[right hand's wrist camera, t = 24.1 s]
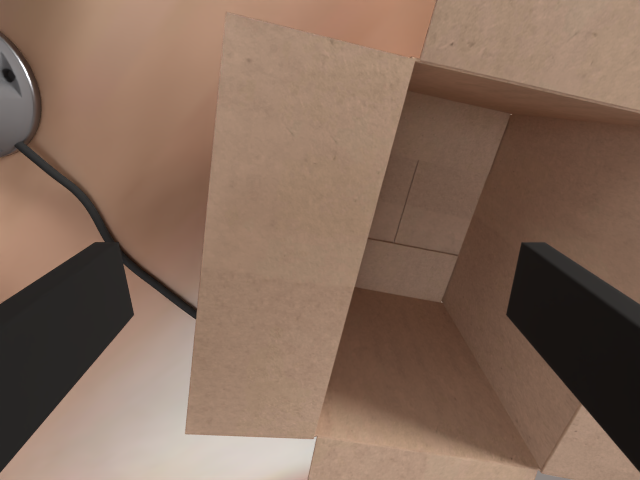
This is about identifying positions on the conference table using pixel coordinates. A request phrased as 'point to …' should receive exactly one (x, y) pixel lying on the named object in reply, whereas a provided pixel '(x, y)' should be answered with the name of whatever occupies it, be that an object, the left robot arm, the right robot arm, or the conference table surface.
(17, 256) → the conference table surface
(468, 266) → the box
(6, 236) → the conference table surface
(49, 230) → the conference table surface
